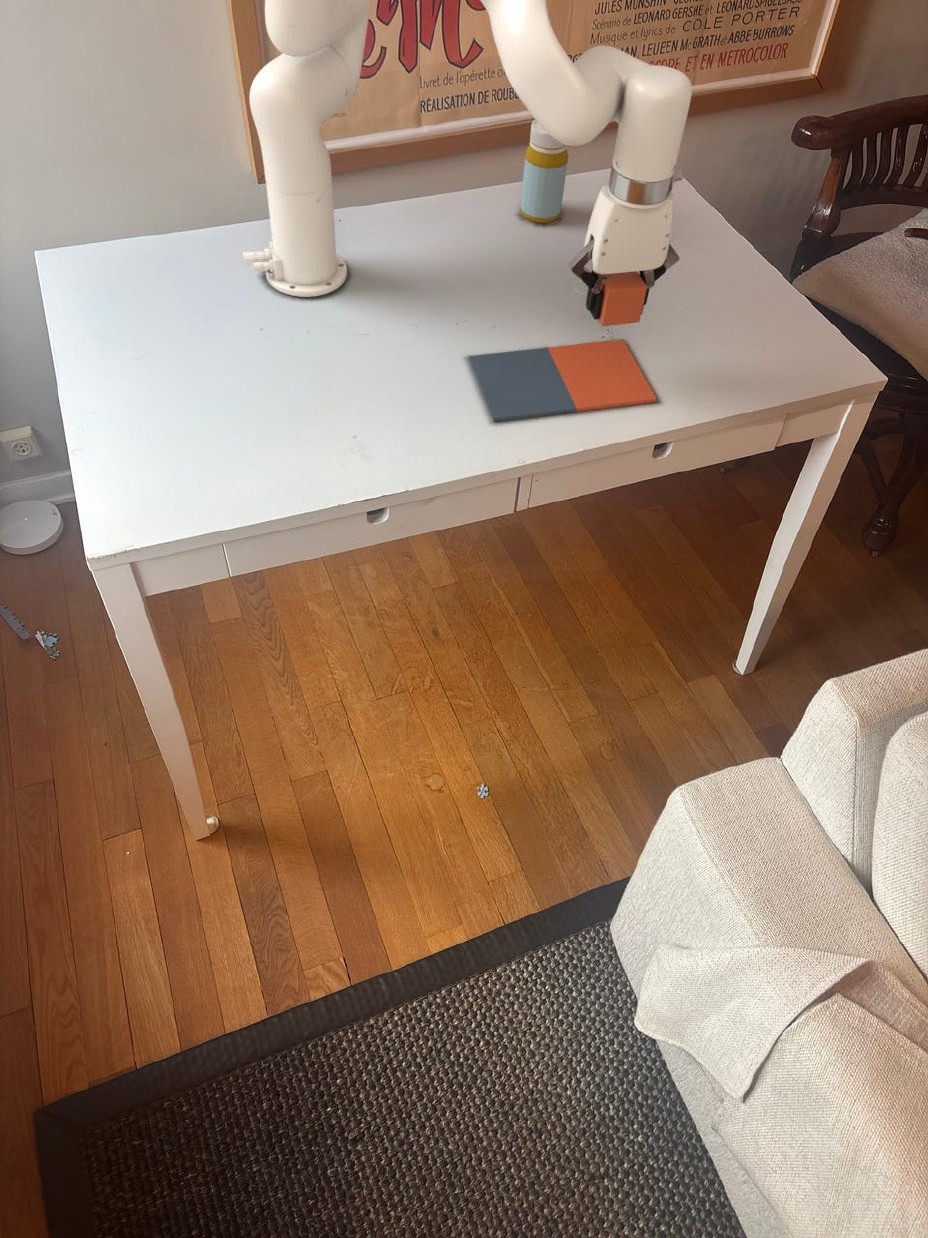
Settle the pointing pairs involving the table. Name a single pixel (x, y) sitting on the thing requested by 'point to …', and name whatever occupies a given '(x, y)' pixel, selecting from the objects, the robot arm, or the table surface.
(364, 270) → the table surface
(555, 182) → the bottle
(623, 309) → the block
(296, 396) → the table surface
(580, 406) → the sorting mat
